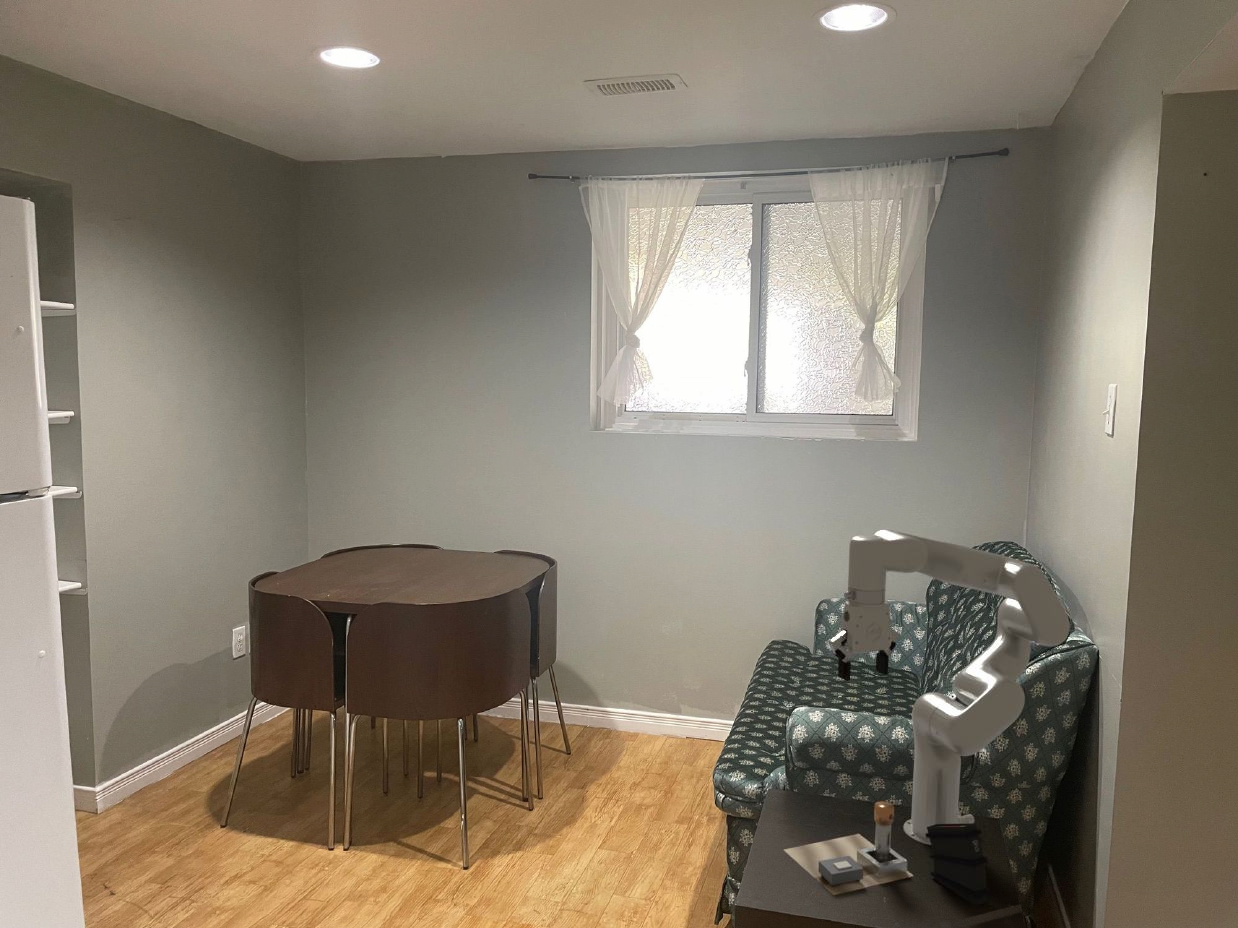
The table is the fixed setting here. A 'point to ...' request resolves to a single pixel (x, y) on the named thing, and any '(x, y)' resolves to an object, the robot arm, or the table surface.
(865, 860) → the socket
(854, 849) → the board
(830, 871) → the block
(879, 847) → the awl
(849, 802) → the table surface
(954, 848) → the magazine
